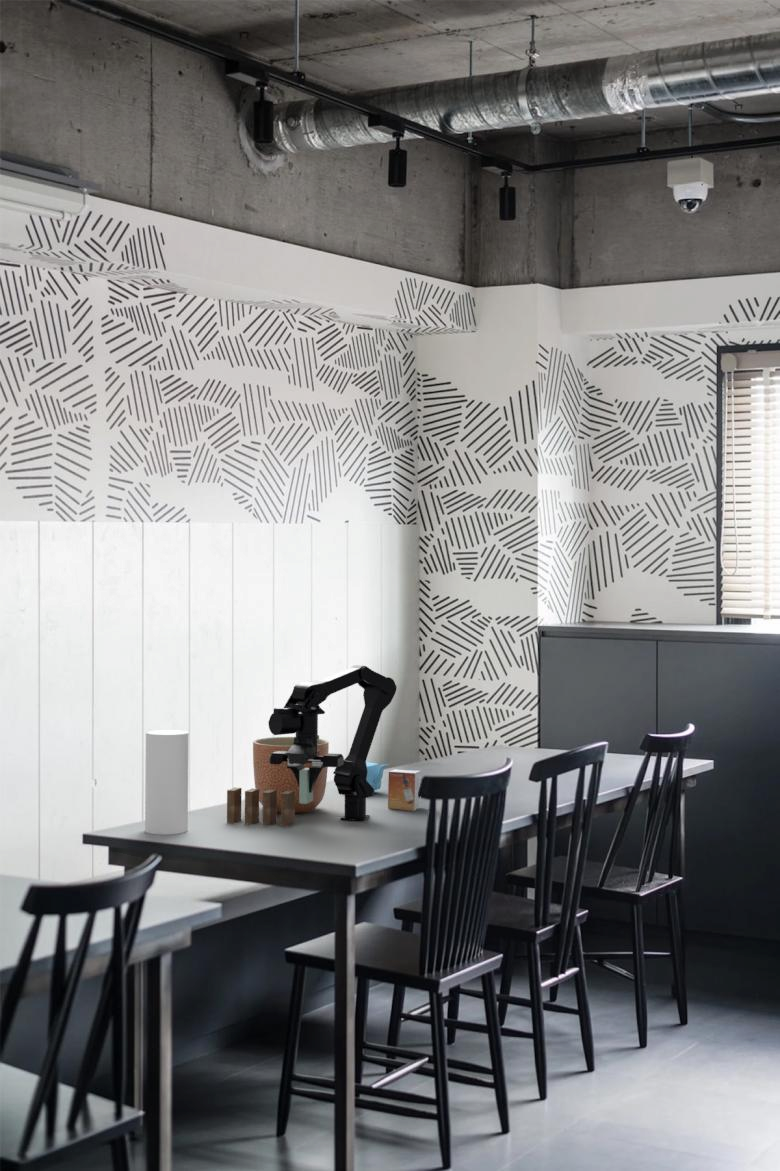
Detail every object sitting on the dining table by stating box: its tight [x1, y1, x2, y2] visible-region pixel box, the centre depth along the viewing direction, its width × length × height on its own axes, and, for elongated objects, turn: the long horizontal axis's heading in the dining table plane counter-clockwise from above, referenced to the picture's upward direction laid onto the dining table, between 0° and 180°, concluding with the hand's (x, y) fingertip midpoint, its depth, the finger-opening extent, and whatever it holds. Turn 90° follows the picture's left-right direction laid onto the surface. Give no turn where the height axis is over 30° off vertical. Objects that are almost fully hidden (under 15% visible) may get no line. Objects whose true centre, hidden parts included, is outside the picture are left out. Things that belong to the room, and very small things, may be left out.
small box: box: [387, 768, 422, 811], centre depth 399 cm, size 8×6×10 cm
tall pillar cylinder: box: [144, 729, 189, 836], centre depth 362 cm, size 11×11×25 cm
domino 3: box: [262, 790, 278, 826], centre depth 374 cm, size 2×5×8 cm, turn 164°
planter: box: [252, 736, 330, 814], centre depth 395 cm, size 21×21×19 cm
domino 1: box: [226, 787, 242, 824], centre depth 377 cm, size 2×5×8 cm, turn 164°
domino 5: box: [299, 768, 313, 804], centre depth 371 cm, size 2×5×8 cm, turn 164°
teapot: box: [334, 762, 388, 794], centre depth 426 cm, size 18×14×10 cm
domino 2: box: [244, 788, 260, 825], centre depth 375 cm, size 2×5×8 cm, turn 164°
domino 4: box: [280, 791, 296, 827], centre depth 373 cm, size 2×5×8 cm, turn 164°
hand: (306, 792), depth 371 cm, fingers closed on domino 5, 2 cm apart
